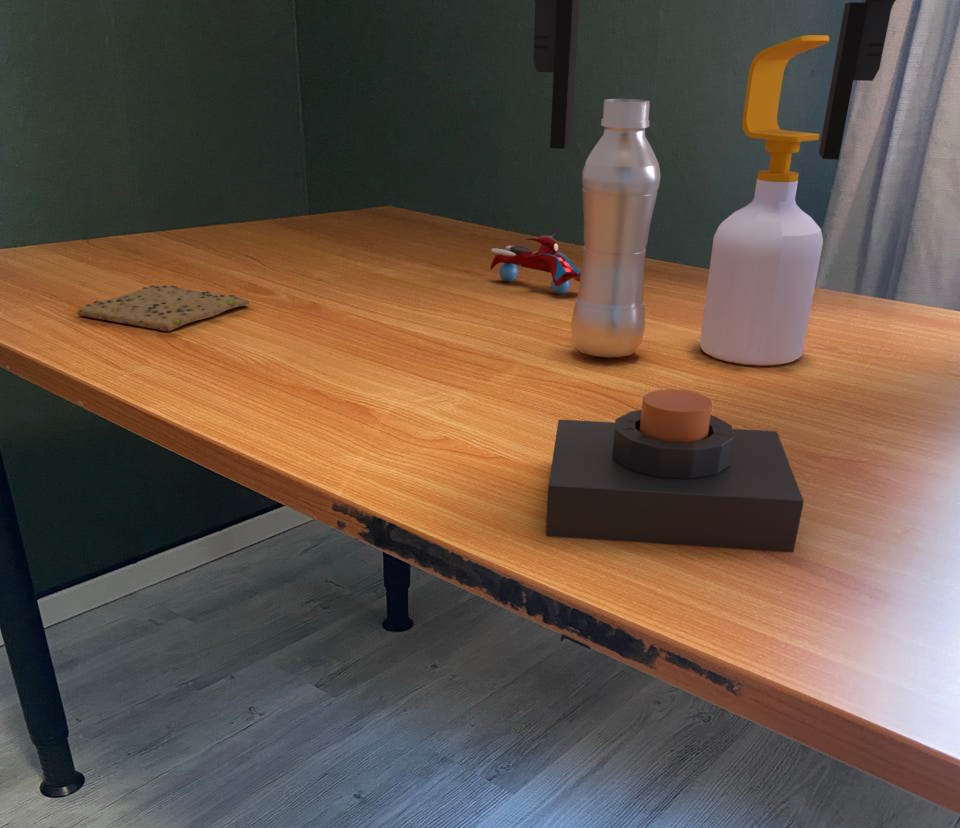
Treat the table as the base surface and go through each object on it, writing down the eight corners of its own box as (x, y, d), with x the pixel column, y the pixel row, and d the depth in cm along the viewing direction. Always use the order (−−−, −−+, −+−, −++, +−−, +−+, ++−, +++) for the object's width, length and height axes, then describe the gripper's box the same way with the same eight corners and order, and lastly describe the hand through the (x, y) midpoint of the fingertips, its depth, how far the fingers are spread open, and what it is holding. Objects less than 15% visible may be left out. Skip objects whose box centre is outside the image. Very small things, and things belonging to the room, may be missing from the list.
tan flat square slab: (74, 315, 97) (72, 304, 96) (162, 290, 106) (161, 281, 106) (168, 332, 92) (166, 321, 92) (251, 304, 101) (250, 294, 101)
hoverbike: (561, 301, 105) (564, 245, 102) (481, 282, 112) (482, 229, 109) (592, 293, 108) (596, 239, 105) (512, 275, 115) (514, 224, 112)
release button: (705, 424, 60) (709, 390, 59) (710, 447, 57) (715, 413, 56) (638, 420, 61) (642, 387, 59) (639, 444, 57) (643, 409, 56)
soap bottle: (760, 373, 84) (816, 35, 71) (678, 349, 90) (716, 33, 77) (822, 355, 89) (885, 36, 76) (740, 333, 95) (786, 34, 82)
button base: (769, 477, 65) (782, 403, 62) (793, 553, 56) (810, 469, 53) (555, 465, 66) (560, 391, 64) (545, 536, 57) (550, 454, 55)
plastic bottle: (619, 342, 92) (641, 97, 82) (656, 362, 87) (684, 103, 76) (556, 348, 90) (570, 97, 79) (590, 369, 85) (610, 104, 74)
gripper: (435, -452, 39) (439, 148, 50) (1127, -498, 35) (962, 170, 46) (476, -387, 45) (471, 135, 56) (1067, -418, 41) (934, 152, 52)
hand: (691, 151), depth 51 cm, fingers open, 13 cm apart
